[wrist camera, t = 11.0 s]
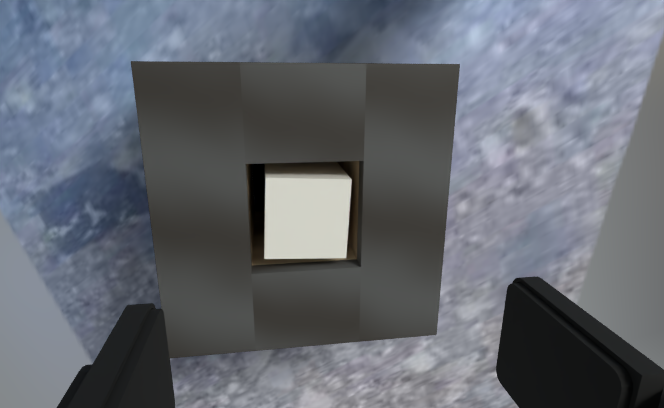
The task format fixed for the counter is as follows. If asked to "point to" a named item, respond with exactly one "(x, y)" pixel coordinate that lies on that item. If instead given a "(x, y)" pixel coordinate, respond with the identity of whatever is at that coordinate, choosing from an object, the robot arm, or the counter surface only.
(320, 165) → the peg
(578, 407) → the robot arm
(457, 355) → the counter surface
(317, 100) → the socket
